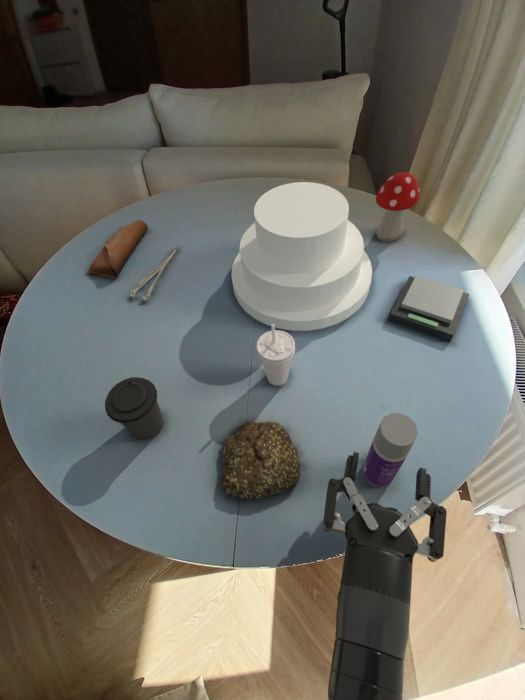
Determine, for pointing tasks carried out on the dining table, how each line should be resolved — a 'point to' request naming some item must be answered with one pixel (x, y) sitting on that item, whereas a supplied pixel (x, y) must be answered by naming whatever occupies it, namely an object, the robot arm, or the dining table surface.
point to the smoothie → (276, 354)
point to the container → (389, 449)
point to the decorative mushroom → (396, 204)
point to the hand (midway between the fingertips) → (387, 462)
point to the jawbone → (149, 276)
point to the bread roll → (259, 461)
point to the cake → (301, 259)
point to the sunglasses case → (118, 250)
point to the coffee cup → (135, 407)
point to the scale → (429, 307)
